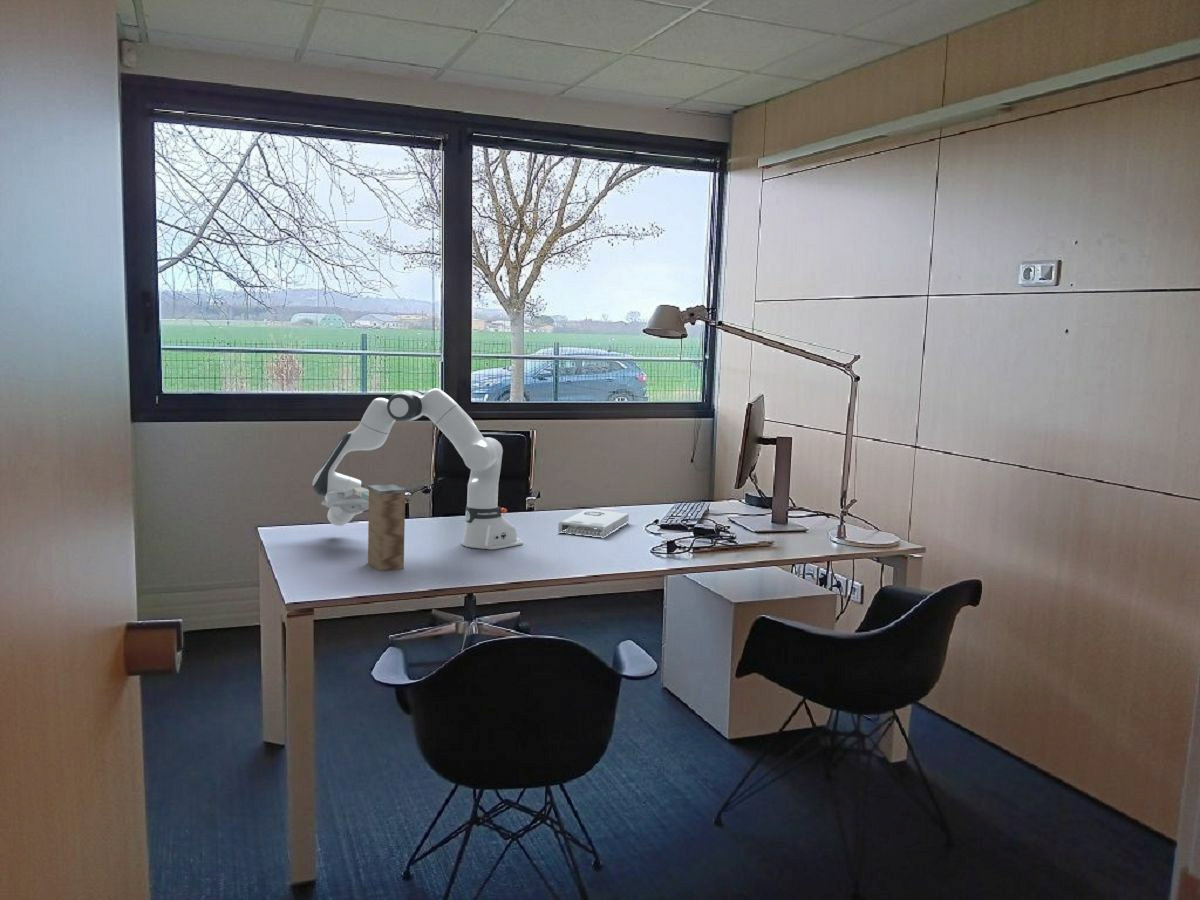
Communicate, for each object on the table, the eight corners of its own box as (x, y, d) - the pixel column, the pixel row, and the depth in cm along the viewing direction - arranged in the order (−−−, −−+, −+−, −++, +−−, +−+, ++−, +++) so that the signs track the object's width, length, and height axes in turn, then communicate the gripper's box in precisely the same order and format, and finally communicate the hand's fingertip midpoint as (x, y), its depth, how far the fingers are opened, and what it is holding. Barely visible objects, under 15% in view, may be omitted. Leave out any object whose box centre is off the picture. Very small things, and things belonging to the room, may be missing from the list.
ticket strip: (363, 491, 311) (363, 485, 311) (384, 501, 295) (384, 495, 295) (349, 492, 308) (349, 486, 308) (369, 502, 292) (369, 496, 292)
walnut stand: (392, 560, 296) (393, 484, 293) (405, 568, 287) (406, 489, 284) (366, 563, 291) (367, 485, 288) (378, 571, 282) (379, 491, 279)
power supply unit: (557, 535, 348) (558, 522, 348) (586, 520, 379) (587, 508, 379) (603, 540, 342) (603, 528, 342) (628, 525, 373) (629, 513, 372)
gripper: (318, 496, 312) (329, 483, 301) (374, 493, 323) (387, 480, 313) (321, 513, 310) (332, 500, 299) (377, 510, 322) (390, 497, 311)
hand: (360, 490), depth 306 cm, fingers closed on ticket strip, 4 cm apart
